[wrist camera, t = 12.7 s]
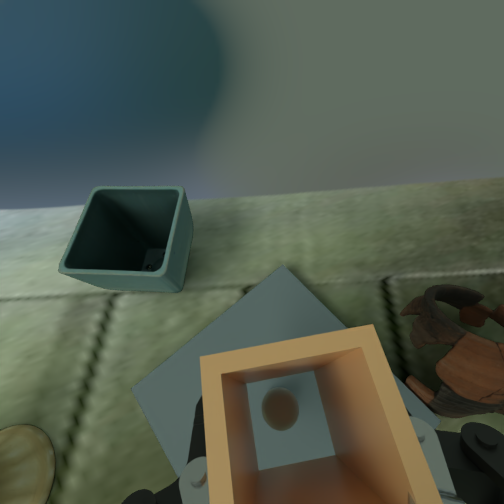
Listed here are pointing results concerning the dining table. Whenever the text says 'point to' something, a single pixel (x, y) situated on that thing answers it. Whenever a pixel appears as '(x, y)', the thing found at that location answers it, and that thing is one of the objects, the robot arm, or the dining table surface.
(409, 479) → the collar
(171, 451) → the post board
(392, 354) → the dining table surface
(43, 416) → the dining table surface
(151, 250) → the flower pot
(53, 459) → the hand bell
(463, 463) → the robot arm
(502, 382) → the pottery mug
